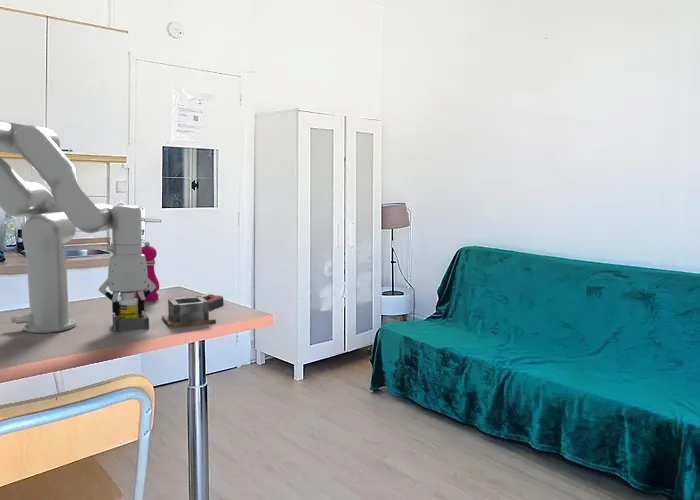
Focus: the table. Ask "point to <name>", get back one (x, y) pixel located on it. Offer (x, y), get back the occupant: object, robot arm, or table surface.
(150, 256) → the pepper mill
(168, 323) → the socket
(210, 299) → the walkie-talkie
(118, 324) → the frame
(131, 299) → the supplement bottle
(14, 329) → the table surface
